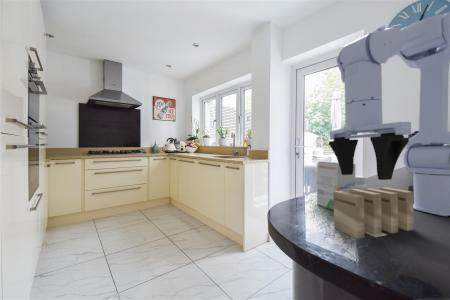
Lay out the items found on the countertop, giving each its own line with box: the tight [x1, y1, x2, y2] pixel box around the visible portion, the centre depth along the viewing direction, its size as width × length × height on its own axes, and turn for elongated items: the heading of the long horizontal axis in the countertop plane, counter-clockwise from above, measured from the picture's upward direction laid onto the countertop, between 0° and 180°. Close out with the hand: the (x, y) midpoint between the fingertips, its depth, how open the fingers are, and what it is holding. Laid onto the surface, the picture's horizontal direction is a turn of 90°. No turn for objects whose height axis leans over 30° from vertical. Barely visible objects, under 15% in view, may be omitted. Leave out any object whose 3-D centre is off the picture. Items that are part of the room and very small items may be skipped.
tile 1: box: [379, 186, 415, 232], centre depth 40 cm, size 2×5×7 cm, turn 15°
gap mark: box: [365, 231, 387, 238], centre depth 38 cm, size 3×6×1 cm, turn 15°
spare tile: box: [349, 189, 383, 235], centre depth 38 cm, size 2×5×7 cm, turn 15°
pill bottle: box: [355, 175, 368, 191], centre depth 55 cm, size 4×4×8 cm
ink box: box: [316, 161, 356, 212], centre depth 54 cm, size 9×5×12 cm, turn 9°
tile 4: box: [333, 191, 366, 240], centre depth 37 cm, size 2×5×7 cm, turn 15°
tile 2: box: [365, 188, 399, 234], centre depth 39 cm, size 2×5×7 cm, turn 15°
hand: (364, 176), depth 38 cm, fingers open, 7 cm apart
